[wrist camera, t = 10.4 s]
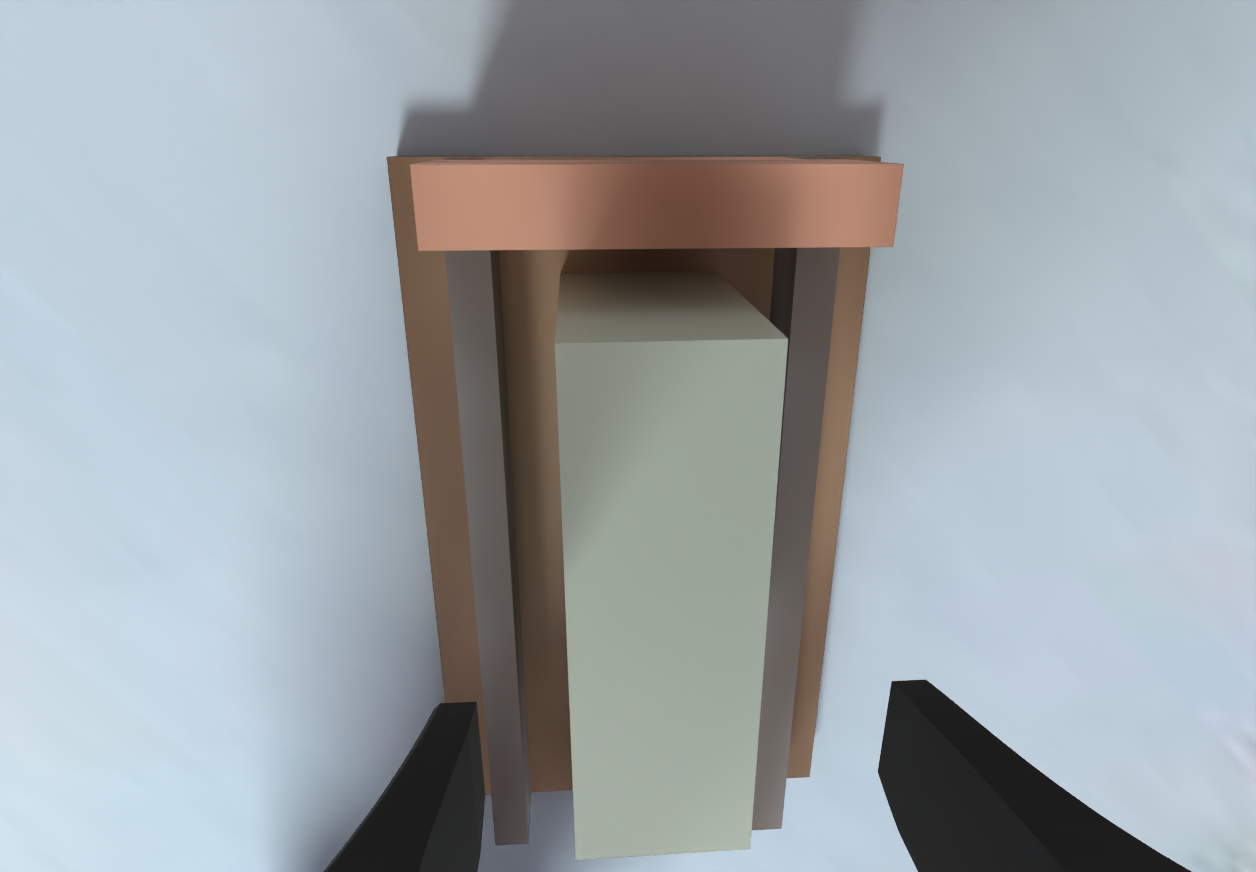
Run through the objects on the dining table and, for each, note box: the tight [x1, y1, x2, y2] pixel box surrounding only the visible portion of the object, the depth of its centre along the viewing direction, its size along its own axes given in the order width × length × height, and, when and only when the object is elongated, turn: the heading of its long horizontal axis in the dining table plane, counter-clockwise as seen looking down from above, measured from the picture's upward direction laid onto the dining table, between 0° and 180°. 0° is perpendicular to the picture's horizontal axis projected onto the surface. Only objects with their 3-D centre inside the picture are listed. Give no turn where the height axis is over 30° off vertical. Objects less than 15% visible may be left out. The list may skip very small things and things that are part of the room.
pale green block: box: [555, 271, 788, 860], centre depth 18 cm, size 4×12×7 cm, turn 0°
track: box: [387, 156, 904, 845], centre depth 20 cm, size 12×20×6 cm, turn 0°
